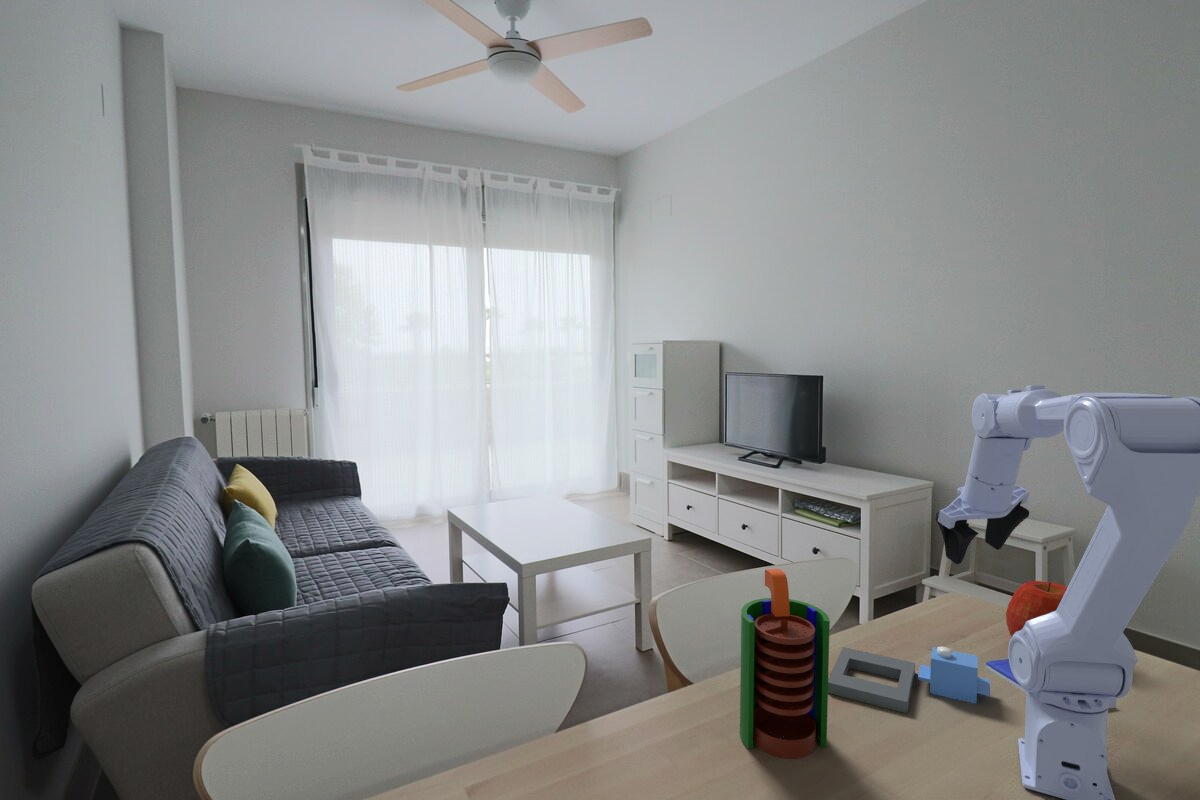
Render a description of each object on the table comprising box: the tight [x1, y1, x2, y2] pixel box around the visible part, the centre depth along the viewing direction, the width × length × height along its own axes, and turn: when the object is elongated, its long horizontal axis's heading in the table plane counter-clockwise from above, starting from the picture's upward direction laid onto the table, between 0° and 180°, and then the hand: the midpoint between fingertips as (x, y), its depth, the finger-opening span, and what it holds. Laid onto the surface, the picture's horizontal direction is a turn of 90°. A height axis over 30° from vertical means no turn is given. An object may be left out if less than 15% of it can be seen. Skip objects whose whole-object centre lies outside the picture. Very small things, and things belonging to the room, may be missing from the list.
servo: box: [917, 646, 991, 705], centre depth 86 cm, size 4×8×6 cm, turn 59°
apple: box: [1005, 580, 1068, 638], centre depth 98 cm, size 11×11×11 cm
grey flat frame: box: [828, 646, 916, 714], centre depth 89 cm, size 12×10×2 cm
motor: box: [739, 568, 831, 760], centre depth 76 cm, size 10×9×20 cm
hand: (973, 552), depth 92 cm, fingers open, 7 cm apart
